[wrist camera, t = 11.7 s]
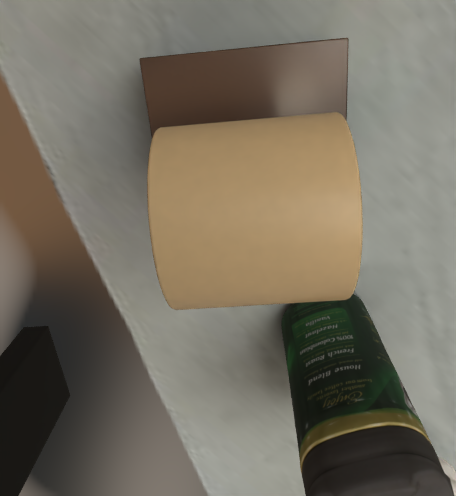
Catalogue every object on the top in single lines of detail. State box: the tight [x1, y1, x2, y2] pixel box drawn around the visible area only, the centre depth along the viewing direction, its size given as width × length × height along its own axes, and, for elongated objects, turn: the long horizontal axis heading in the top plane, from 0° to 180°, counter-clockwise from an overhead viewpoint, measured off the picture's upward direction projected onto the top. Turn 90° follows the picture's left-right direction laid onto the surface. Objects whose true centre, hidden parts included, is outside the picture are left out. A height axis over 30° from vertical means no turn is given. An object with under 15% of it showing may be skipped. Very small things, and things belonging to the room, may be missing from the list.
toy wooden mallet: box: [147, 112, 363, 310], centre depth 19 cm, size 16×6×6 cm
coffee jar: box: [282, 294, 454, 496], centre depth 30 cm, size 10×8×19 cm
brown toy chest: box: [140, 38, 348, 138], centre depth 28 cm, size 10×12×6 cm
